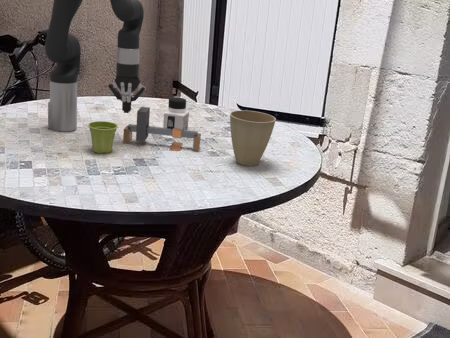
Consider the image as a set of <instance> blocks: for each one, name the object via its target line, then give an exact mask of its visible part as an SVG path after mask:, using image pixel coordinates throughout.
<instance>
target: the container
mask: <svg viewBox="0 0 450 338" xmlns="http://www.w3.org/2000/svg"><path fill="white" fill-rule="evenodd" d="M167 108H168V109H167V110H166V111H165V112H163V122H162V123H163V124H162V128H169V129H173V128H179V129H182V130H188V129H189V117H190V111H189V110H187V99H186V98H184V97H181V96H172V97H169V98H168V105H167ZM188 131H189V130H188Z"/></svg>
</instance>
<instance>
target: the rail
mask: <svg viewBox="0 0 450 338" xmlns="http://www.w3.org/2000/svg"><path fill="white" fill-rule="evenodd" d="M136 126H137V124H131V123H129V124H128V125H127V124H126V126H125V127H124V128H123V140H122V141H123V143H122V144H128V145H129V144H130V143H132V141H133V133H136ZM146 133H149V134H148V135H150V134H151V135H159V136H169V137H171V138H176V139H182V138H186V139H188V138H189V139H192V140H193V143H192V151H193V152H199V151H200V147H201V136H202V133H199V131H195V130H182V129H179V128H173V129H169V128H163V127H158V126H152V125H151V126H150V125H149V126H146ZM183 144H184V143H183V142H178V141H172V143H171V146H170V147H169V151H176V152H180V151H181V148H183Z"/></svg>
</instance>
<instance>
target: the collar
mask: <svg viewBox="0 0 450 338" xmlns="http://www.w3.org/2000/svg"><path fill="white" fill-rule="evenodd" d="M150 111H151V107H147V106H140V107H139V109H138V110H136V125H137V126H136V132H135V141H137V142H143V143H144V142H146V140H147V139H148V137H149V135H150V134H149V133H146V126H150V113H151V112H150Z"/></svg>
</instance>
